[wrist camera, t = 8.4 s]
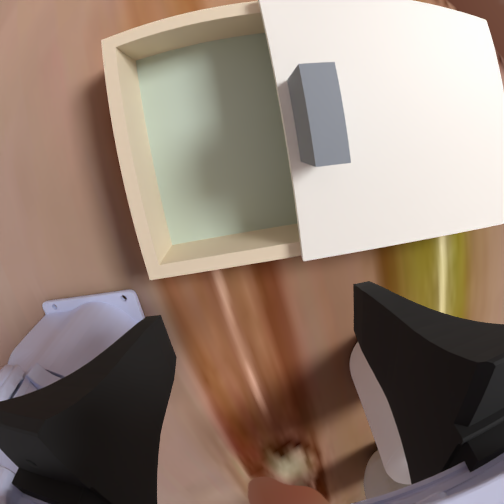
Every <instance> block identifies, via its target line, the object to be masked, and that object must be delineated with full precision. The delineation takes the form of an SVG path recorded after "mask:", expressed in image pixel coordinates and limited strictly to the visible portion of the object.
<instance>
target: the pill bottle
mask: <svg viewBox="0 0 504 504" xmlns="http://www.w3.org/2000/svg"><path fill="white" fill-rule="evenodd" d="M349 366H350V372H351V377H352V379H353V382H354V385H355V387H356V390H357V393H358V395H359V398H360V401H361V403H362V406H363V409H364V411H365V414H366V417H367V420H368V422H369V425H370V428H371V431H372V434H373V436H374V439H375V442H376V445H377V448H378V451H379V454H380V457H381V460H382V462H383V465H384V468H385V471H386V473H387V474H388V475H389V476H390V478H391V479H393V480H394V481H396V482H398V483H401V484H411V479H410V474H409V470H408V465H407V461H406V457H405V453H404V449H403V446H402V442H401V439H400V436H399V432H398V429H397V426H396V423H395V420H394V417H393V414H392V411H391V409H390V406H389V403H388V401H387V398H386V396H385V394H384V392H383V390H382V388H381V386H380V384H379V383H378V381H377V379H376V377H375V375H374V373H373V371H372V369H371V368H370V366H369V364H368V362H367V360H366V358H365V356H364V354H363V353H362V351H361V348H360V345H359V343H358V342H357V343H356V345H355V347H354V348H353V351H352V353H351V357H350V363H349Z"/></svg>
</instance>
